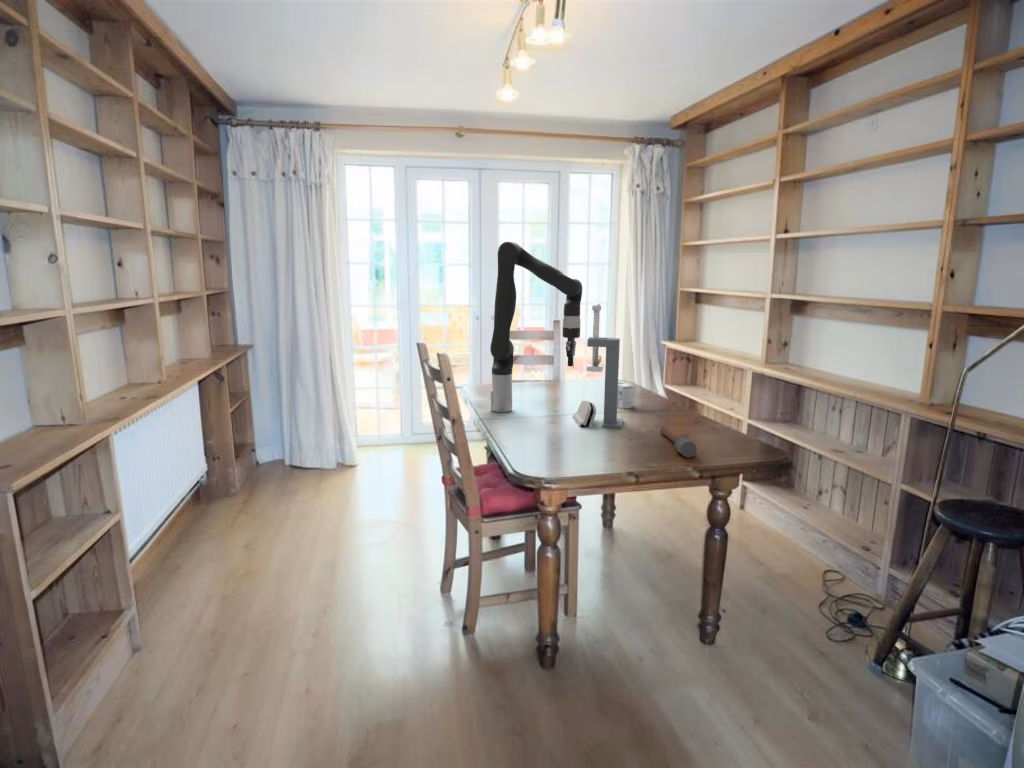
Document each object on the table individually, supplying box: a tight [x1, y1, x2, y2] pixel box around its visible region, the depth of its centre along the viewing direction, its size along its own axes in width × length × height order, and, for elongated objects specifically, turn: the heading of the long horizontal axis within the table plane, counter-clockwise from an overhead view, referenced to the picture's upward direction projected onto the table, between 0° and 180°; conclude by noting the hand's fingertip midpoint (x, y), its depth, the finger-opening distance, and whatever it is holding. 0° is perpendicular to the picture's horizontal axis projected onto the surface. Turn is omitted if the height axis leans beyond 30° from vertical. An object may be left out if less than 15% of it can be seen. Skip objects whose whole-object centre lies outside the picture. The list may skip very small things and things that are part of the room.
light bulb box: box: [617, 381, 636, 410], centre depth 276 cm, size 11×7×11 cm, turn 25°
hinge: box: [572, 400, 597, 428], centre depth 247 cm, size 17×5×10 cm, turn 4°
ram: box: [586, 303, 604, 373], centre depth 244 cm, size 6×20×27 cm, turn 167°
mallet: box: [659, 426, 698, 458], centre depth 215 cm, size 6×6×30 cm
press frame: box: [587, 336, 624, 430], centre depth 241 cm, size 15×12×36 cm
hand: (570, 366), depth 254 cm, fingers closed
